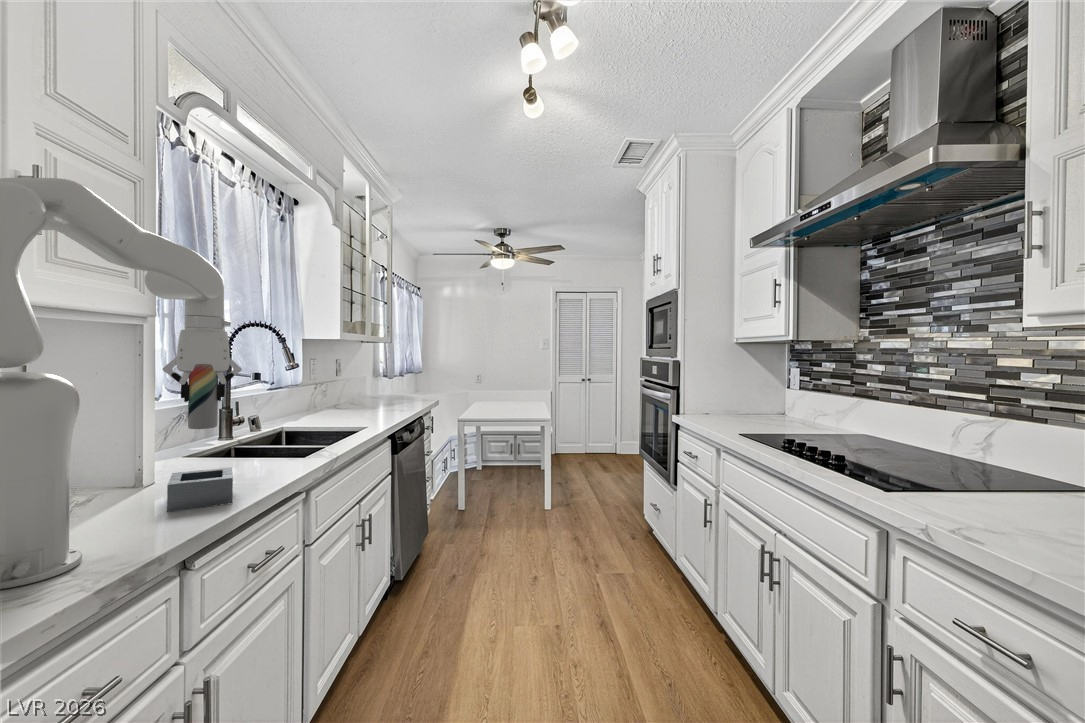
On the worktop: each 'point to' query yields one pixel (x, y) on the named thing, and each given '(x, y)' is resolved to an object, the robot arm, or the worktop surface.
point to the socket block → (199, 489)
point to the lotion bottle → (203, 397)
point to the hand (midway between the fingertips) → (203, 400)
